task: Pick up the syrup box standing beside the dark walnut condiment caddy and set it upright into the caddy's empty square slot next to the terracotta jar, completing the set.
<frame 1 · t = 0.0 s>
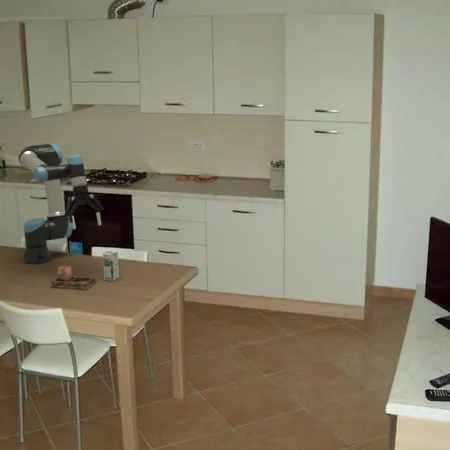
hand: (87, 227, 353), 28 cm above the table, tool tilted 20°, fingers open, 13 cm apart
syrup box: (111, 279, 360), on the table
caddy: (73, 285, 351), on the table
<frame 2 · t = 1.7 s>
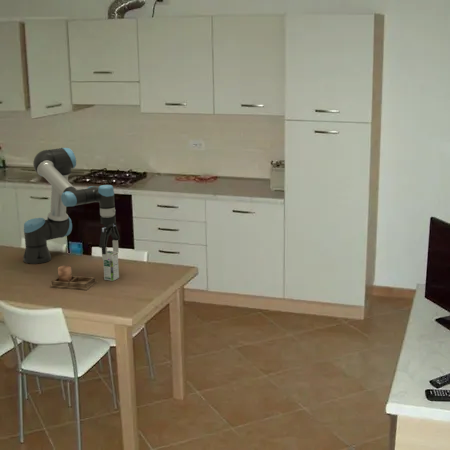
hand: (110, 256, 356), 12 cm above the table, tool pointing down, fingers open, 13 cm apart
nothing on the table moved.
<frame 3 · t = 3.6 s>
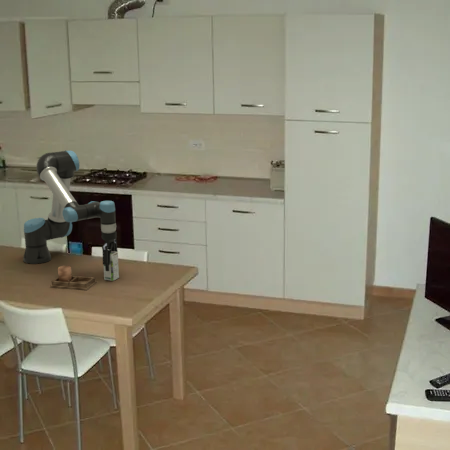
hand: (111, 274, 359), 3 cm above the table, tool pointing down, fingers closed on syrup box, 7 cm apart
syrup box: (111, 279, 360), on the table, touching gripper
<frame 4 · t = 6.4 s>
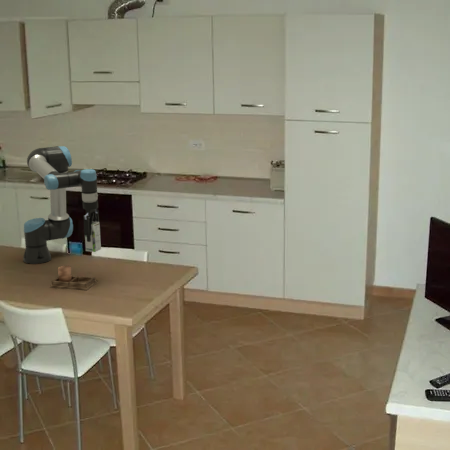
hand: (93, 245, 350), 20 cm above the table, tool pointing down, fingers closed on syrup box, 7 cm apart
syrup box: (93, 250, 351), point 17 cm above the table, touching gripper
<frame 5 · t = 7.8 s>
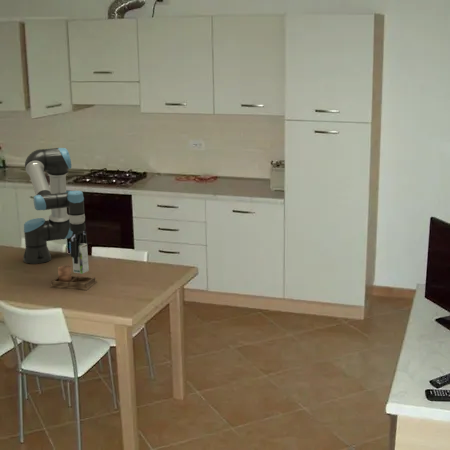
hand: (80, 267, 348), 10 cm above the table, tool pointing down, fingers closed on syrup box, 7 cm apart
syrup box: (81, 272, 348), point 7 cm above the table, touching gripper
when the fingers open (5 cm above the table, at t = 9.1 s): syrup box drops 1 cm, resting on caddy.
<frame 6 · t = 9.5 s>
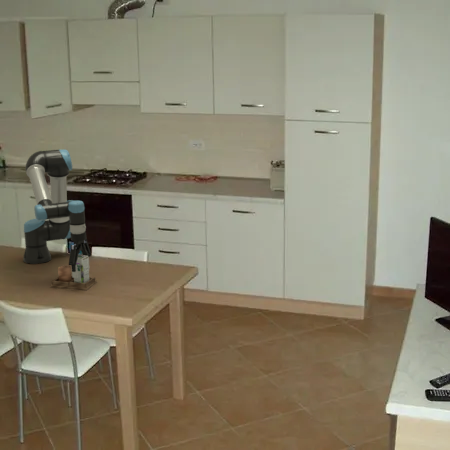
hand: (81, 273, 349), 7 cm above the table, tool pointing down, fingers open, 12 cm apart
syrup box: (82, 284, 350), point 1 cm above the table, touching caddy
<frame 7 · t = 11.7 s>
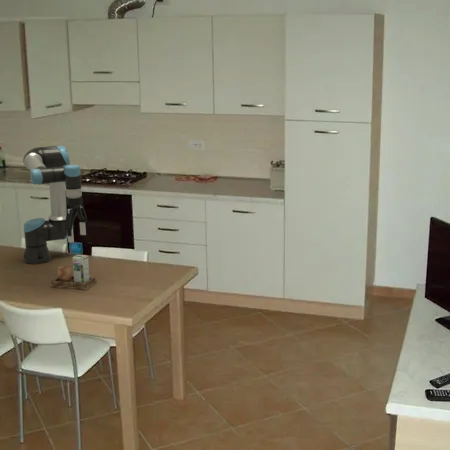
hand: (77, 238, 345), 24 cm above the table, tool pointing down, fingers open, 13 cm apart
nothing on the table moved.
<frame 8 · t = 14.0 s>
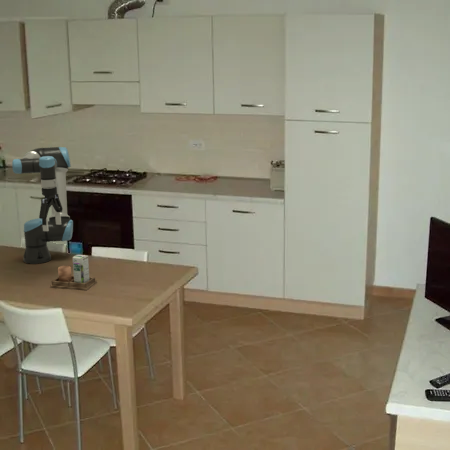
hand: (52, 227, 358), 27 cm above the table, tool pointing down, fingers open, 13 cm apart
nothing on the table moved.
at the end: syrup box 0.3 cm from the target spot on the caddy, point 0.8 cm above the caddy's base; syrup box tilted 0°; the gripper is holding nothing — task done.
